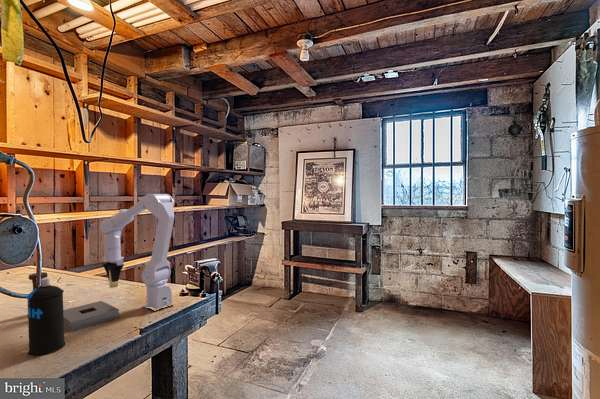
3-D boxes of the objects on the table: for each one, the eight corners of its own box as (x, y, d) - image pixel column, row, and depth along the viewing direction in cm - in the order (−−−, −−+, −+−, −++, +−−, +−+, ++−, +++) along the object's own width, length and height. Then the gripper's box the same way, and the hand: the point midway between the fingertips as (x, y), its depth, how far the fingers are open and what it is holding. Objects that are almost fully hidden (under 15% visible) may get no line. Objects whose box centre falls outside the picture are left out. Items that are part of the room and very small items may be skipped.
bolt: (36, 317, 112) (35, 276, 112) (25, 316, 113) (24, 275, 113) (52, 311, 118) (51, 272, 118) (41, 310, 119) (40, 271, 119)
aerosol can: (61, 339, 93) (59, 273, 93) (69, 347, 88) (67, 277, 88) (25, 350, 87) (22, 279, 87) (31, 359, 82) (29, 284, 81)
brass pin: (119, 286, 127) (118, 264, 127) (111, 288, 125) (110, 266, 124) (116, 285, 129) (115, 263, 129) (108, 287, 126) (107, 265, 126)
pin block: (118, 317, 110) (118, 309, 110) (71, 331, 99) (71, 322, 99) (101, 308, 120) (101, 300, 119) (56, 320, 108) (56, 311, 108)
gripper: (130, 247, 125) (131, 281, 125) (115, 245, 134) (116, 276, 134) (111, 250, 120) (112, 285, 120) (97, 247, 129) (98, 279, 129)
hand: (113, 280), depth 127 cm, fingers closed on brass pin, 3 cm apart
